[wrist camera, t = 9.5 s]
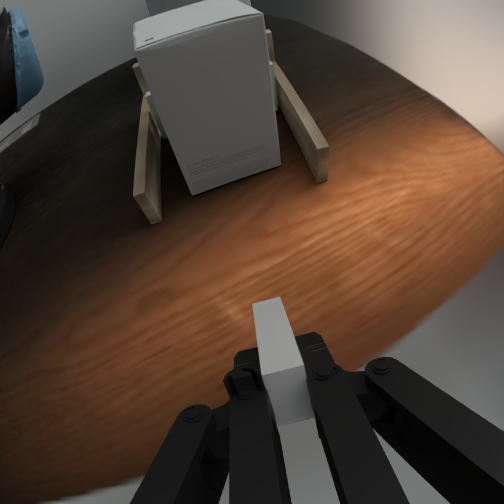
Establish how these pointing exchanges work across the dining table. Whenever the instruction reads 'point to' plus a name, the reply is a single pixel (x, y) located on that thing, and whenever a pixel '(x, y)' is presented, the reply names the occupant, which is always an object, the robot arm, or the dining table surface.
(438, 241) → the dining table surface
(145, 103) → the pusher lane
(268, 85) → the supplement box
